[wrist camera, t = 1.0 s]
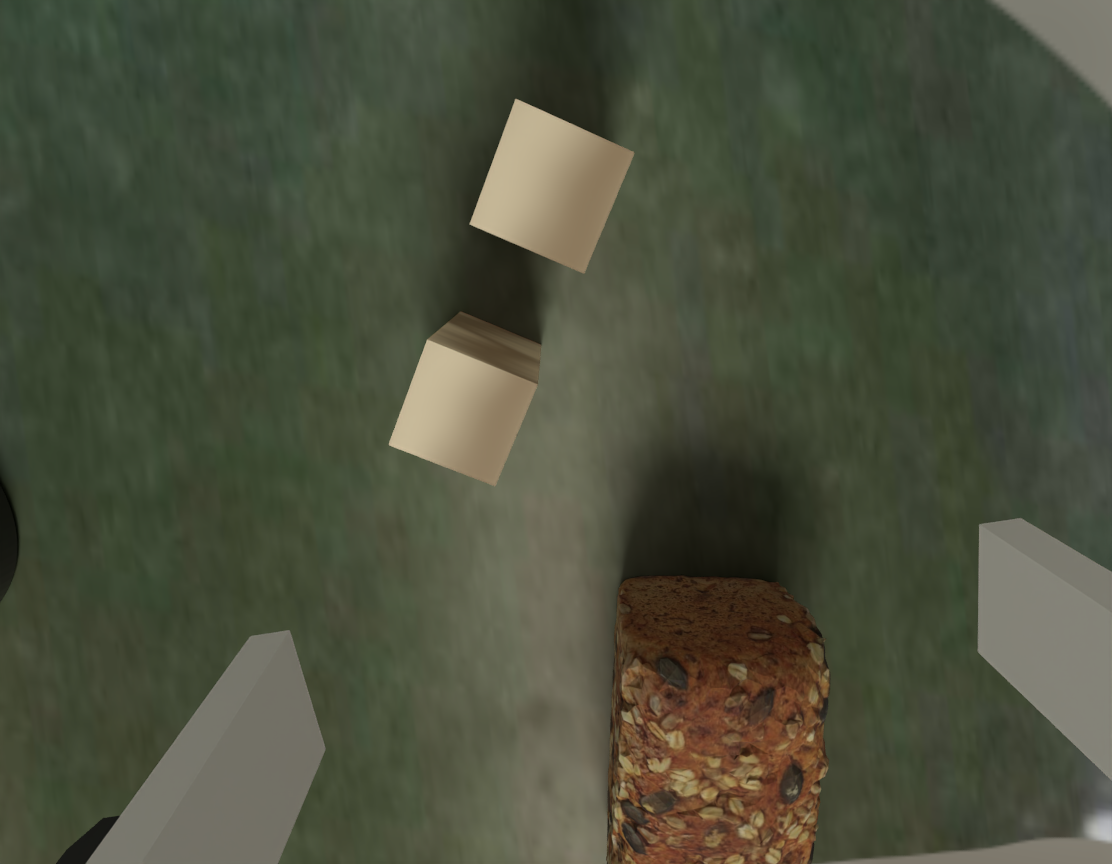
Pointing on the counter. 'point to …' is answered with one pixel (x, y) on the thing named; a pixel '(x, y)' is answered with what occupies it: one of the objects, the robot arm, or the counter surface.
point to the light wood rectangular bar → (550, 186)
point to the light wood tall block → (468, 397)
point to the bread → (715, 723)
